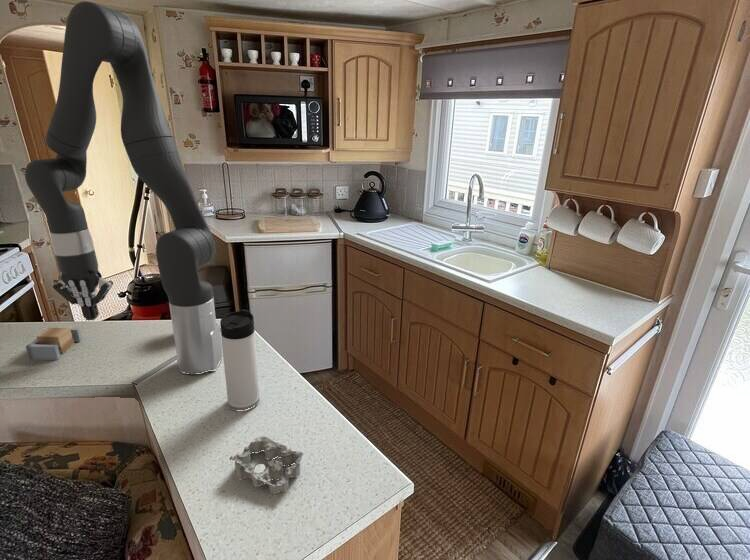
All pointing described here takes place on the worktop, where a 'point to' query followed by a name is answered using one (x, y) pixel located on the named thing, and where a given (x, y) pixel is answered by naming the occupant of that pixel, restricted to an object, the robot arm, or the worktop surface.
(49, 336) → the small wooden block
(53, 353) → the bay
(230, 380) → the travel mug
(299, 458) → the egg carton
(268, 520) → the worktop surface
